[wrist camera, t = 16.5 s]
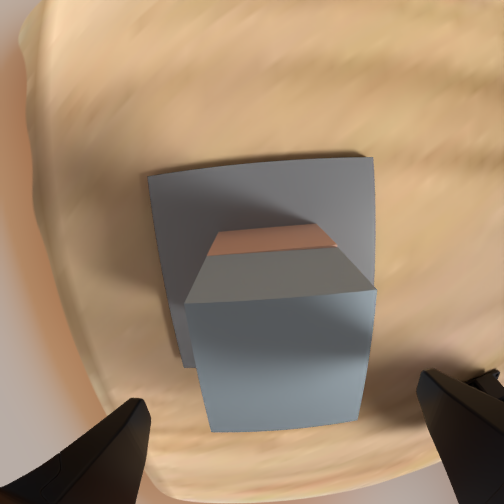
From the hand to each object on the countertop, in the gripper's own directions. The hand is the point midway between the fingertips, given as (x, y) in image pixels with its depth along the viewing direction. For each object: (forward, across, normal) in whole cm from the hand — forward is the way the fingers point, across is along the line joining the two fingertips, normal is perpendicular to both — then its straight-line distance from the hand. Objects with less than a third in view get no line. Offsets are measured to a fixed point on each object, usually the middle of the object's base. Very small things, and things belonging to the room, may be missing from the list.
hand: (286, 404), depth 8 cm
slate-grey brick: (+7, 0, 0) cm, 7 cm away
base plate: (+13, 0, 0) cm, 13 cm away
